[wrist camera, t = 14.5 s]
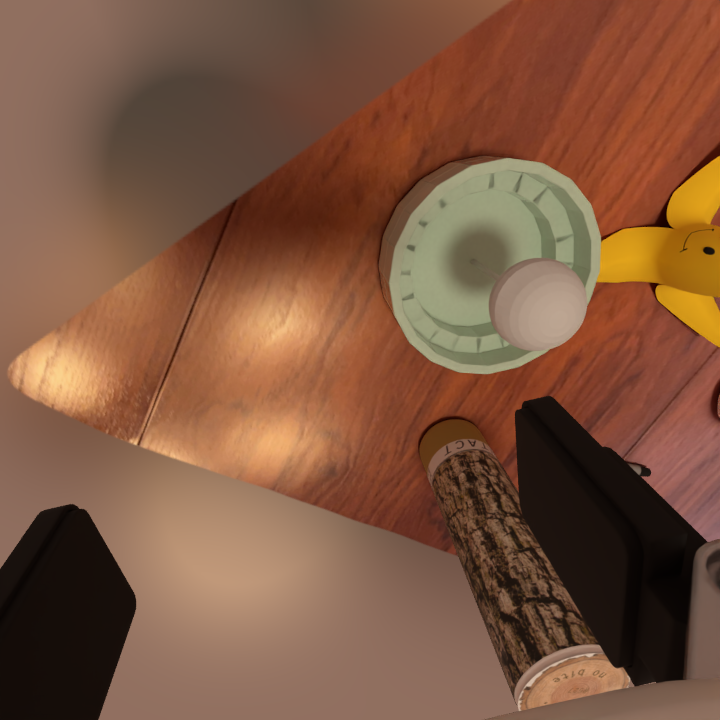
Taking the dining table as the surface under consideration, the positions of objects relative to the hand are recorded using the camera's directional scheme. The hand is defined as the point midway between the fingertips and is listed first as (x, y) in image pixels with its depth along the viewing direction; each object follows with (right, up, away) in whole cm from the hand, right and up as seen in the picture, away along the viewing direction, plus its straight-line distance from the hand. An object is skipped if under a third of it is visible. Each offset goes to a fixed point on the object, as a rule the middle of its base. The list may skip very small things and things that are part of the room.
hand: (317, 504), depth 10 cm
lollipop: (+11, +12, +31) cm, 35 cm away
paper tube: (+10, -6, +40) cm, 42 cm away
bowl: (+11, +12, +32) cm, 36 cm away
